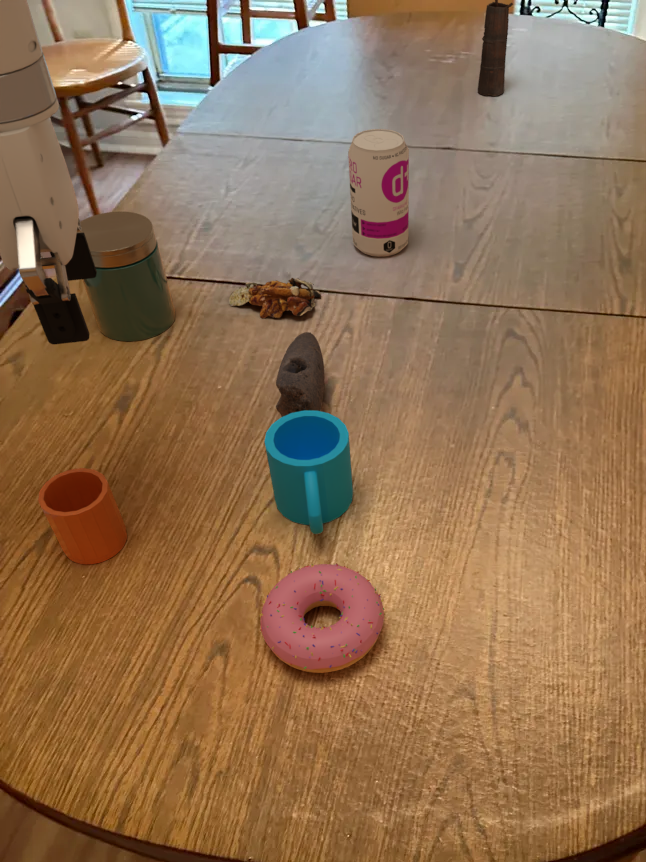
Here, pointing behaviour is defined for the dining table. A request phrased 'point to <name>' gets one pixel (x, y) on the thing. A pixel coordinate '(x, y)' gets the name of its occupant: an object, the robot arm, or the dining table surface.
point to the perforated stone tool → (301, 376)
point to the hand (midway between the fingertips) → (74, 307)
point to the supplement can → (379, 191)
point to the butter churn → (494, 49)
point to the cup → (83, 515)
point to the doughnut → (327, 644)
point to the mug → (310, 467)
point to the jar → (132, 299)
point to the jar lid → (118, 238)
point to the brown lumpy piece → (277, 297)
